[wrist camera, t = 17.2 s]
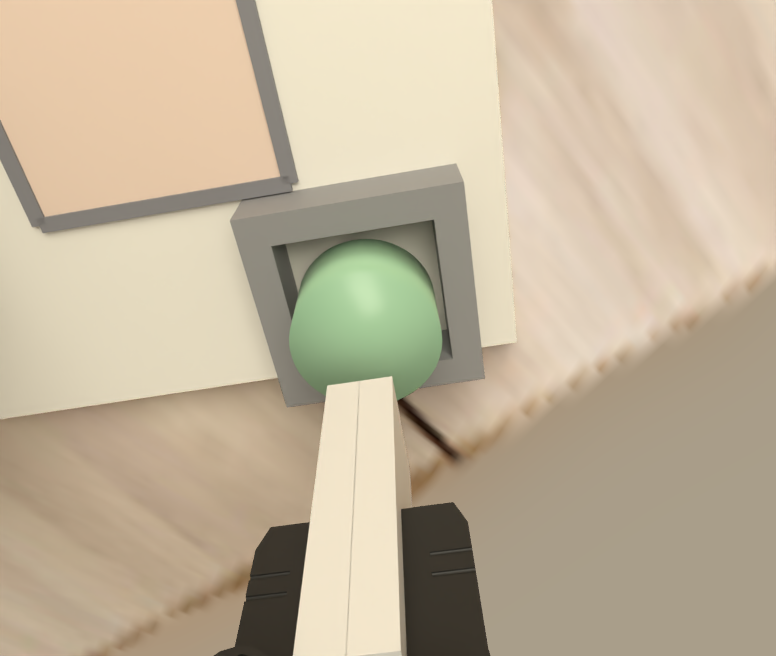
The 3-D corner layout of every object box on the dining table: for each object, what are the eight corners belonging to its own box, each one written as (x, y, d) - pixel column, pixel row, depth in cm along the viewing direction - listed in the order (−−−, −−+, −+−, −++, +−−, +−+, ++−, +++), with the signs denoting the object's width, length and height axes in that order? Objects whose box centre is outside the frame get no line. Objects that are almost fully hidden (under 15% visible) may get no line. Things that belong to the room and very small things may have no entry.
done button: (315, 368, 21) (308, 415, 19) (284, 251, 19) (271, 288, 17) (442, 349, 21) (450, 394, 19) (425, 228, 19) (431, 262, 17)
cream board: (-115, 420, 26) (-174, 474, 23) (-454, -53, 17) (-610, -57, 15) (510, 326, 24) (528, 372, 21) (466, -248, 16) (485, -295, 13)
